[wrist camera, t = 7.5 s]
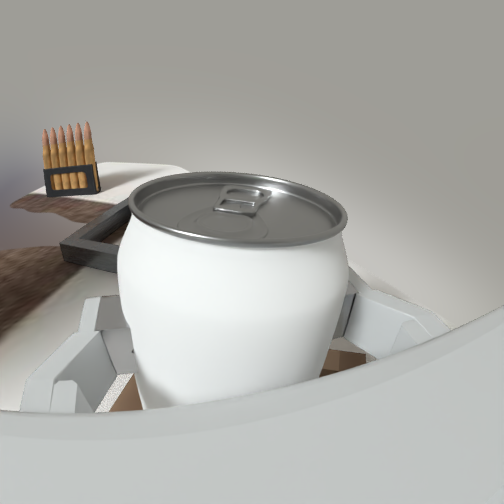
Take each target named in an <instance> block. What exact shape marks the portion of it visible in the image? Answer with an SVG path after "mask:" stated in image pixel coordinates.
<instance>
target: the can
mask: <svg viewBox="0 0 504 504" xmlns="http://www.w3.org/2000/svg"><path fill="white" fill-rule="evenodd" d="M128 205H129V209H130V211H131V213H132V216H131V219H130V222H129V224H128V226H127V229H126V231H125V233H124V236H123V238H122V241H121V244H120V247H119V251H118V256H117V272H118V282H119V291H120V299H121V306H122V311H123V314H124V317H125V319H126V321H127V323H128V324H129V326H130V329H131V335H132V341H133V347H134V349H133V352H134V354H135V359H136V364H137V369H138V372H137V373H134V375H135V379H136V383H137V387H138V392H139V395H140V399H141V403H142V407H143V410H146V409H156V408H166V407H174V406H182V405H190V404H197V403H204V402H210V401H216V400H222V399H228V398H233V397H239V396H244V395H249V394H254V393H258V392H263V391H268V390H272V389H277V388H281V387H285V386H289V385H293V384H297V383H301V382H305V381H309V380H313V379H316V378H319V376H320V373H321V370H322V367H323V364H324V362H325V359H326V356H327V353H328V350H329V347H330V344H331V341H332V338H333V335H334V332H335V329H336V325H337V322H338V319H339V316H340V312H341V309H342V305H343V302H344V298H345V294H346V290H347V285H348V279H349V267H348V261H347V256H346V251H345V248H344V243H343V239H342V230H343V229H344V228H345V226H346V223H347V220H348V217H347V213H346V211H345V209H344V208H343V207H342V206H341V204H339V203H338V202H337V201H336V200H334V199H333V198H331V197H330V196H328V195H326V194H324V193H322V192H320V191H318V190H315V189H313V188H310V187H308V186H304V185H302V184H298V183H295V182H291V181H287V180H283V179H279V178H274V177H269V176H262V175H255V174H247V173H236V172H192V173H183V174H175V175H170V176H165V177H161V178H157V179H154V180H151V181H148V182H146V183H144V184H142V185H140V186H139V187H137V188H136V189H135V190H134V191H133V192H132V193H131V194H130V196H129V199H128Z"/></svg>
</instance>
